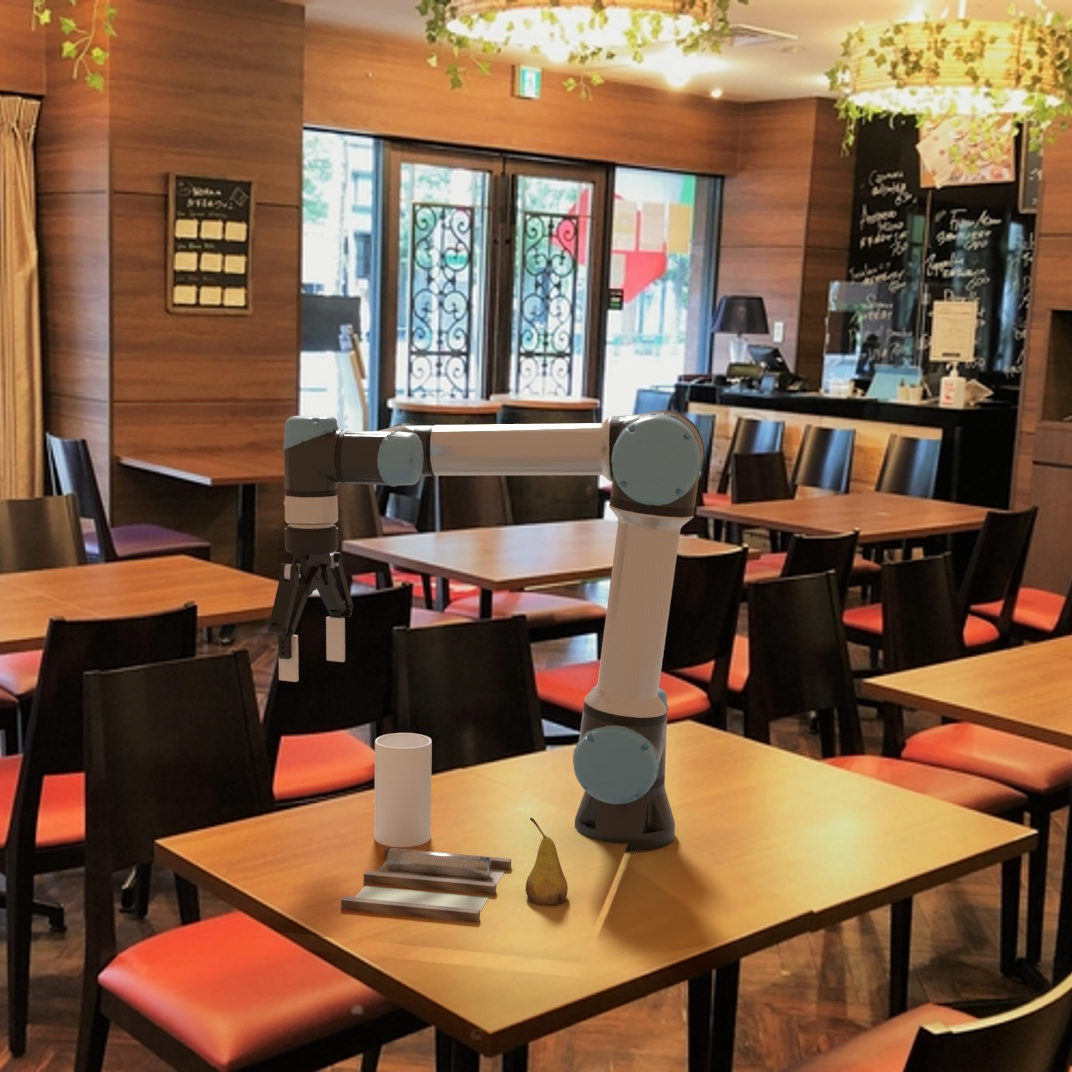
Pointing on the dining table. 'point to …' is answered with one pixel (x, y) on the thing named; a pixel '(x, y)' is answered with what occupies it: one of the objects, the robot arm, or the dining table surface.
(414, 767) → the cup
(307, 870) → the dining table surface
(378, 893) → the rack
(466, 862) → the rod
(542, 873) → the fruit
